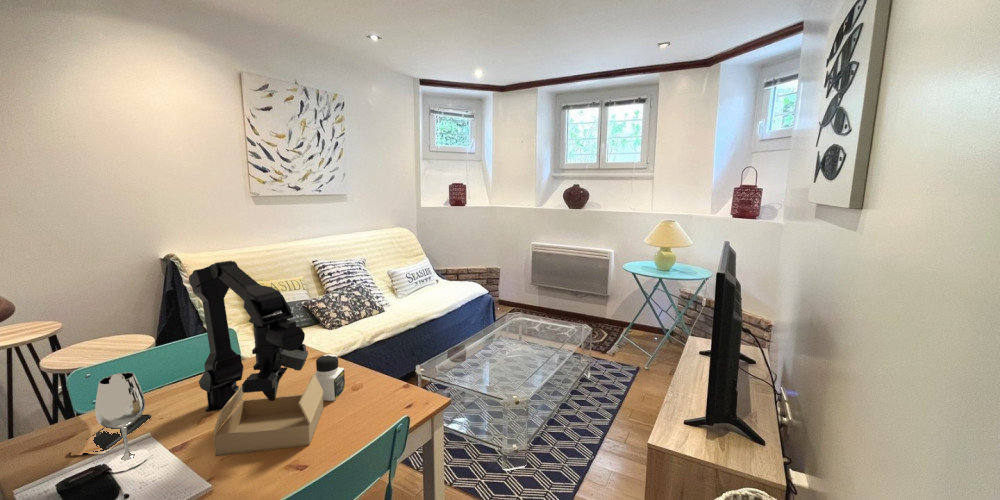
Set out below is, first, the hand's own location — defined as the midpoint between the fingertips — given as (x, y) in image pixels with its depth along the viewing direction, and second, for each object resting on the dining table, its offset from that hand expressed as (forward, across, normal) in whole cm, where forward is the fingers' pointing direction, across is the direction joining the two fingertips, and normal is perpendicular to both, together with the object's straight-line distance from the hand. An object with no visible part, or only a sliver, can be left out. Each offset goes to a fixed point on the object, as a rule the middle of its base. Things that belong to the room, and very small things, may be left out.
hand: (272, 400), depth 98 cm
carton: (+8, 0, 0) cm, 8 cm away
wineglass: (+8, -6, +28) cm, 30 cm away
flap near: (0, 0, +9) cm, 9 cm away
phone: (+9, +6, +38) cm, 39 cm away
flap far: (0, 0, -9) cm, 9 cm away
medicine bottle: (+8, +16, -10) cm, 21 cm away
